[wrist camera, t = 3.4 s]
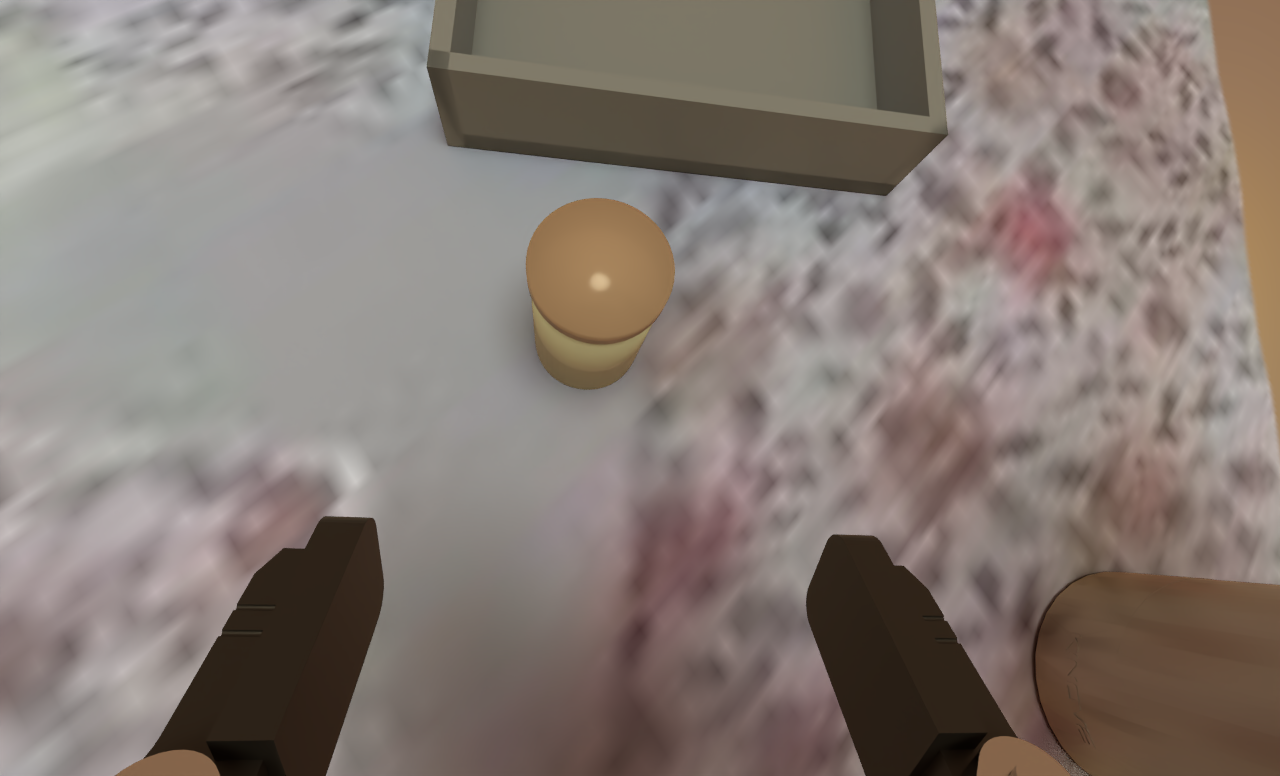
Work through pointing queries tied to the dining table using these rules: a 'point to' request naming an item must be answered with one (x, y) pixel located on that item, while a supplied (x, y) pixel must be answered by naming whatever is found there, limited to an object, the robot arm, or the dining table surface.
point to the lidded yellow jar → (596, 289)
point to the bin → (697, 85)
